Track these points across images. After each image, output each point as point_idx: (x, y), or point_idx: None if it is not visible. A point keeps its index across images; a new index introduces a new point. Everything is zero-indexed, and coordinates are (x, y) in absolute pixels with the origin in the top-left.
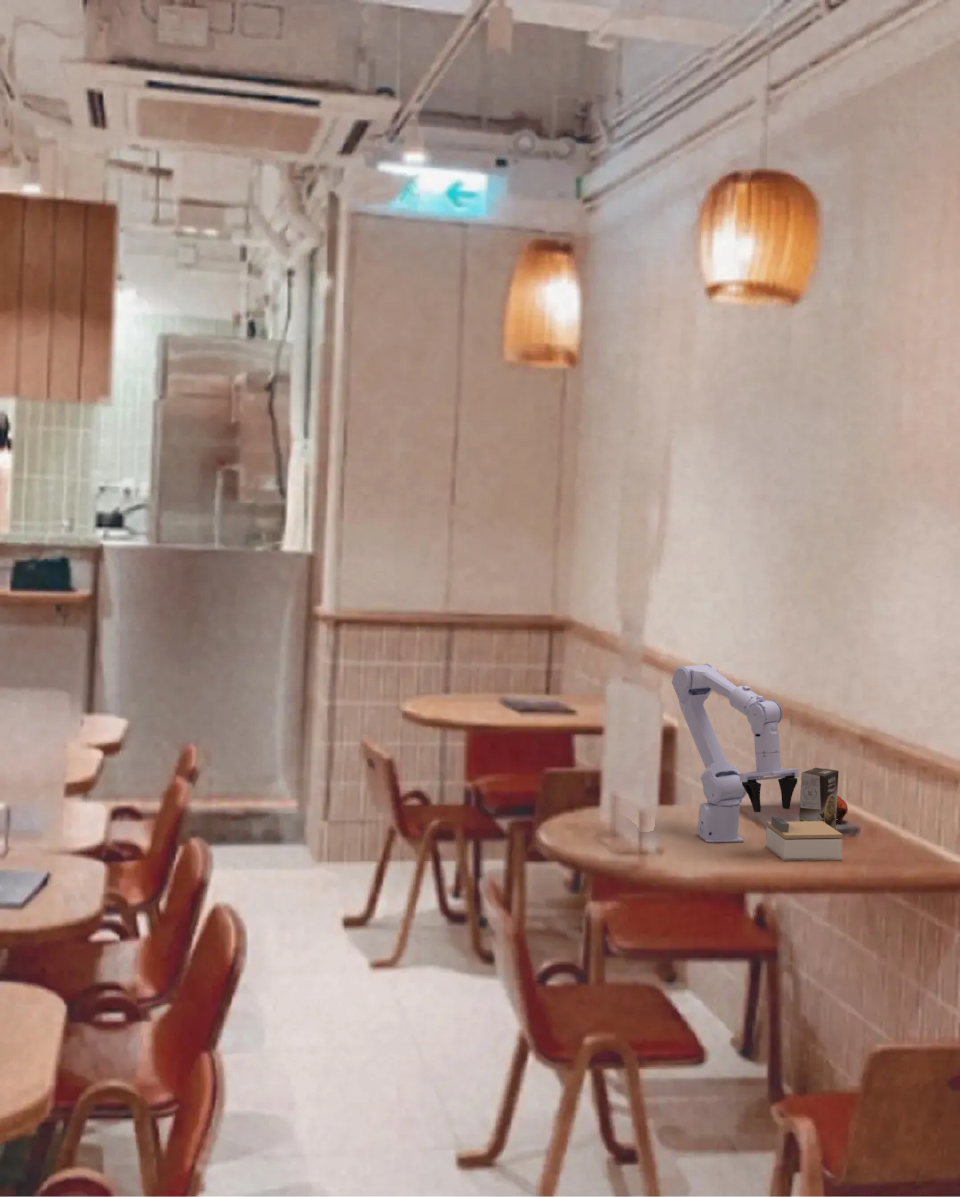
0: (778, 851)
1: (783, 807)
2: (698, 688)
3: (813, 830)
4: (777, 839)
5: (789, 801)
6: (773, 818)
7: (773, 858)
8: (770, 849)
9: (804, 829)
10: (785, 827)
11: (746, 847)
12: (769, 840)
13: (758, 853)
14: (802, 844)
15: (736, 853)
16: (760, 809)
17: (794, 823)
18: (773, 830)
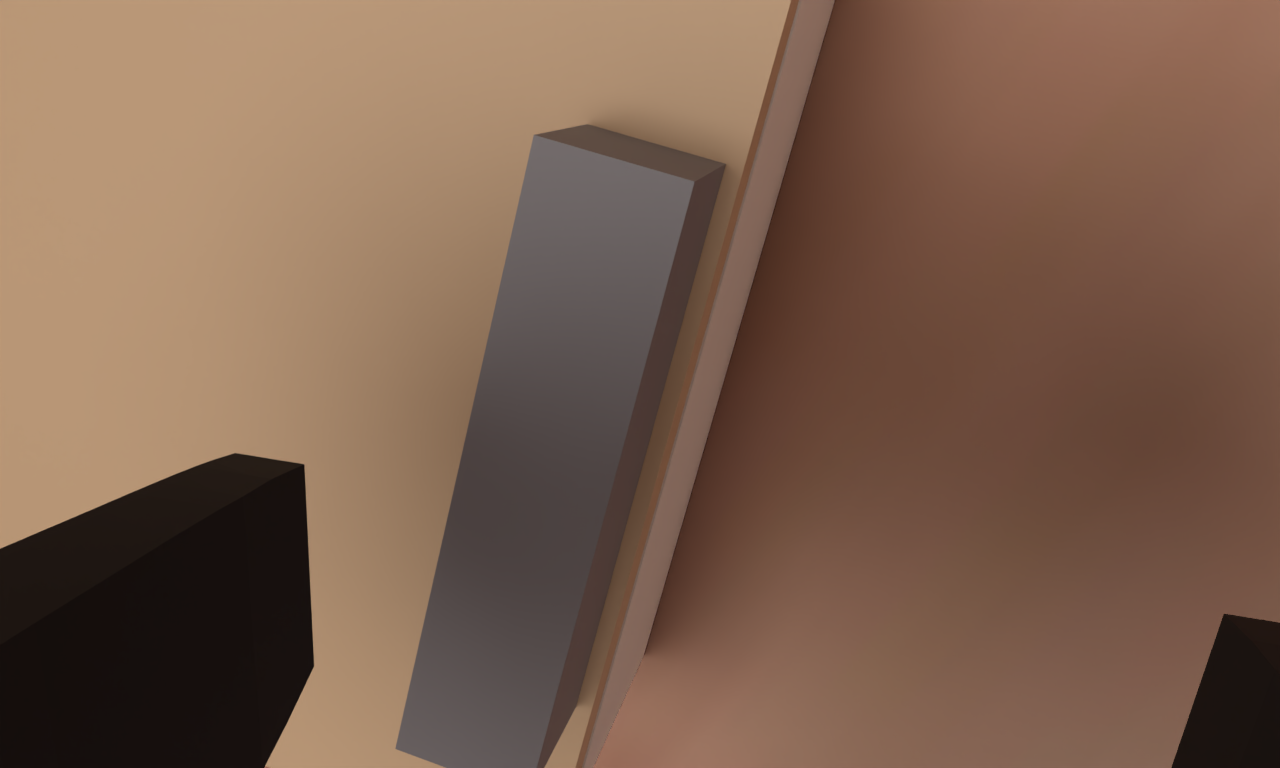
0: (768, 212)
1: (299, 659)
2: None
3: (48, 76)
4: (721, 313)
5: (112, 520)
6: (560, 695)
7: (903, 152)
8: (688, 500)
9: (173, 197)
10: (633, 151)
11: (914, 736)
12: (649, 598)
13: (947, 446)
14: None
15: (1271, 567)
16: (1263, 642)
17: None
18: None
